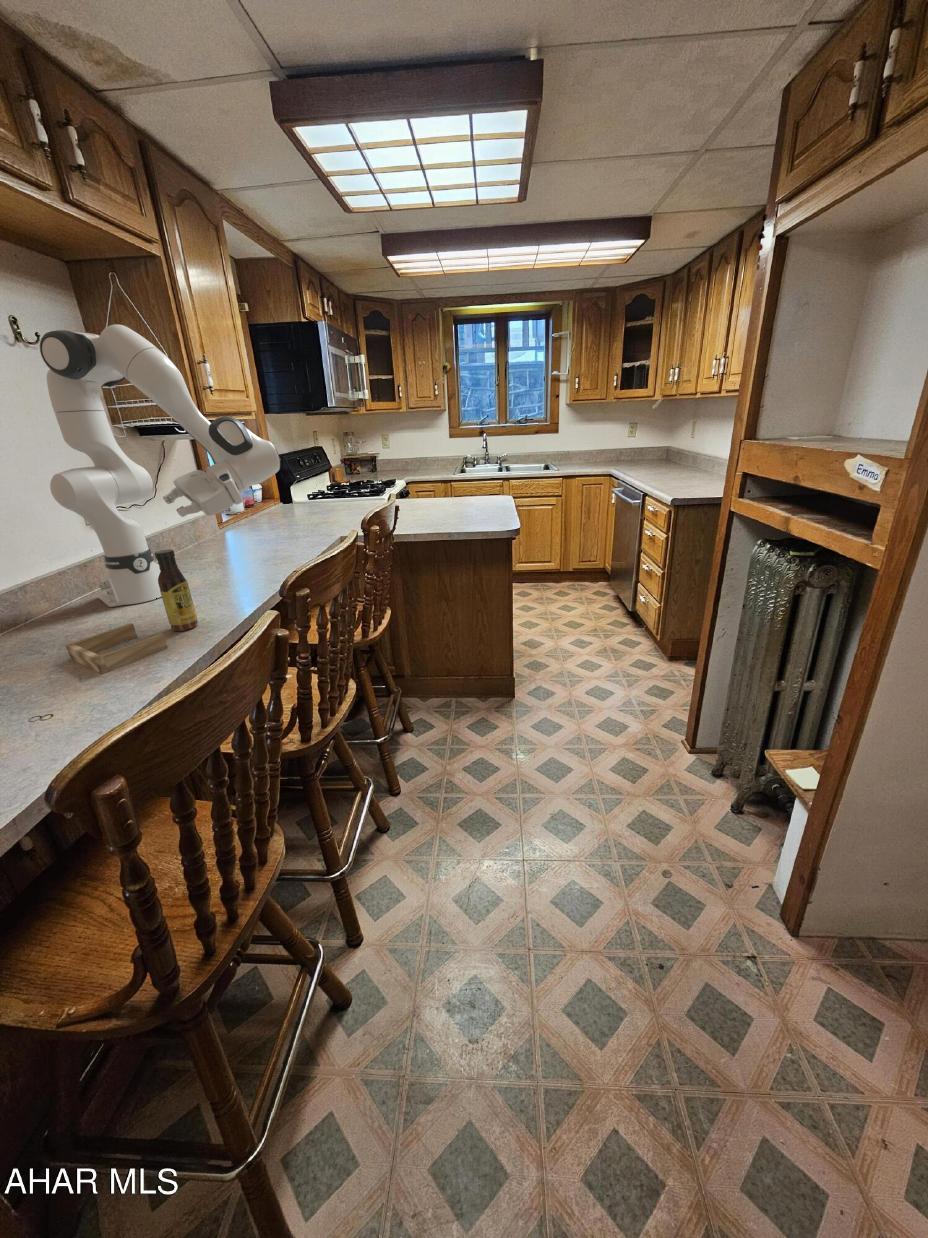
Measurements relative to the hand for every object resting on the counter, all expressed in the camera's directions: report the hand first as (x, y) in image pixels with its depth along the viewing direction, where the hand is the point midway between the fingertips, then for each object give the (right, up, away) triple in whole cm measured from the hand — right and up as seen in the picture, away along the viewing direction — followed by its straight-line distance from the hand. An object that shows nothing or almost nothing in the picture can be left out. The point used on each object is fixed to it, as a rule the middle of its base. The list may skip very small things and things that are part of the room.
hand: (171, 507), depth 119 cm
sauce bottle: (+1, -30, +5) cm, 30 cm away
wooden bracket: (-7, -35, -8) cm, 37 cm away
